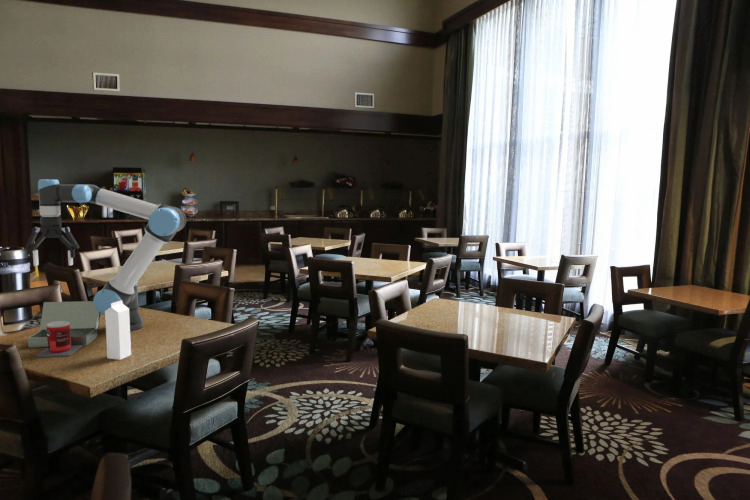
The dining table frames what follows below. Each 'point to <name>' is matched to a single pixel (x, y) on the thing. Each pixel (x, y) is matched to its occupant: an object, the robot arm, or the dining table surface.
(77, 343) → the case
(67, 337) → the canned food
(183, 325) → the dining table surface
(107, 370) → the dining table surface
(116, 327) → the milk
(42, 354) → the pad
